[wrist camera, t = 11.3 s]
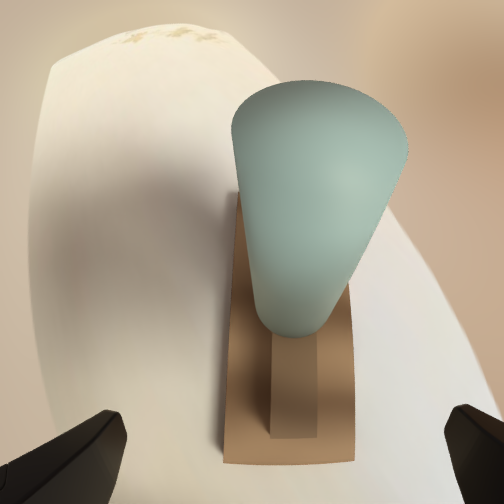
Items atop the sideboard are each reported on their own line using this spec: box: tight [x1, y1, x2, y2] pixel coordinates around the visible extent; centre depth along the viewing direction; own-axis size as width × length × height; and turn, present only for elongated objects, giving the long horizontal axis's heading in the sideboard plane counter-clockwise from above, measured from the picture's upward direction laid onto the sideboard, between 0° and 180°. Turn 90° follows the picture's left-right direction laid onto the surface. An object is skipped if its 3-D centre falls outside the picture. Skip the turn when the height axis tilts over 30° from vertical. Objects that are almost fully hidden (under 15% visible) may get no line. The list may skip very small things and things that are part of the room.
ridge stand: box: [223, 192, 355, 465], centre depth 20 cm, size 20×8×4 cm, turn 178°
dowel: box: [231, 80, 408, 338], centre depth 13 cm, size 4×4×12 cm
